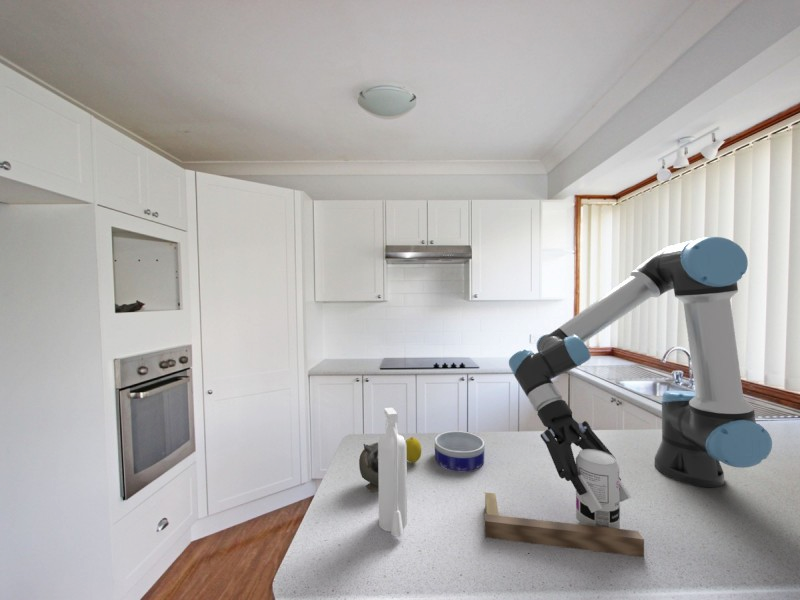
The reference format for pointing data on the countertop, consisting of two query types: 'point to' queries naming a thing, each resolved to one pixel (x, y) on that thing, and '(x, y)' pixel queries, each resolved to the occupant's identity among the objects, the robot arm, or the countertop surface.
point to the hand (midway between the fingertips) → (611, 504)
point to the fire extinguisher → (392, 477)
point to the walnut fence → (560, 533)
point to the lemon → (413, 449)
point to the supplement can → (599, 488)
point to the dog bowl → (459, 451)
